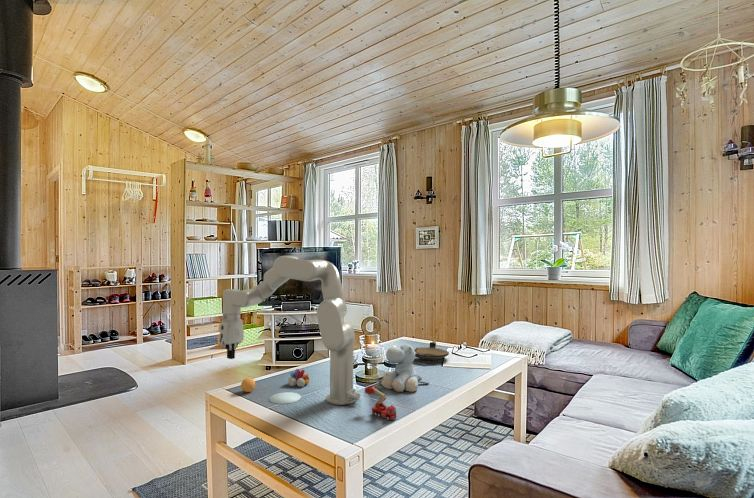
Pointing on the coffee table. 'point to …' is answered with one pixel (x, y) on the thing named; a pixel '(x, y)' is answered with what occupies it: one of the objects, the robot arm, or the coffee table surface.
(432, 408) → the coffee table surface
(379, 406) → the toy fire truck
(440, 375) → the coffee table surface
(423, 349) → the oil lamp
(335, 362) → the robot arm
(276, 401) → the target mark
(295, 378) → the multicolored petal flower toy
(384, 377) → the hippo plush
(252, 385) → the ball
